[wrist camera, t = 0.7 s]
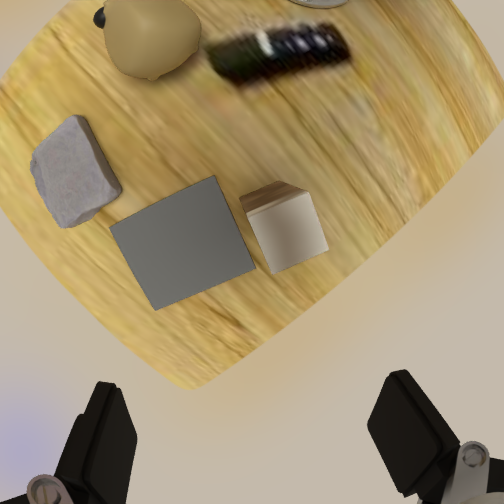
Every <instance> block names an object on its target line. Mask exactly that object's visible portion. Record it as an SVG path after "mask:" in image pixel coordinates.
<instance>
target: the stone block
mask: <svg viewBox="0 0 504 504" xmlns="http://www.w3.org/2000/svg"><path fill="white" fill-rule="evenodd" d="M30 171H31V174H32V175H33V176H34V179H35V184H36V187H37V190H38V192H39V194H40V196H41V197H42V199H43V200H44V203H45V206H46V207H47V209H48V210H49V212H50V213H52V217H53V218H54V220H55V221H56V223H57V224H58V225H59V227H60V228H72V227H75V226H77V225H79V224H81V223H83V222H85V221H88V220H90V219H92V217H93V216H94V215H95V214H96V213H97V212H99V210H100V208H101V207H103V206H105V205H106V204H108V203H110V202H111V201H113V200H114V199H116V198H117V197H118V196H119V194H120V193H121V186H120V184H119V182H118V180H117V179H116V177H115V175H114V173H113V171H112V170H111V168H110V166H109V164H108V162H107V160H106V158H105V156H104V155H103V153H102V151H101V149H100V147H99V145H98V143H97V141H96V140H95V138H94V136H93V133H92V131H91V129H90V127H89V125H88V123H87V121H86V120H85V119H84V118H83V117H82V116H79V115H72V116H70V117H69V118H67V119H66V120H65V121H64V122H63V123H62V124H61V125H59V127H58V128H57V129H56V130H55V131H54V132H52V133H51V134H50V135H49V136H48V137H47V138H46V139H44V140H43V141H42V142H41V143H40V144H39V146H38V147H37V148H36V149H35V150H34V152H33V154H32V160H31V162H30Z"/></svg>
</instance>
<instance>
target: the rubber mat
mask: <svg viewBox="0 0 504 504" xmlns="http://www.w3.org/2000/svg"><path fill="white" fill-rule="evenodd" d="M109 229H110V231H111V233H112V235H113V237H114V239H115V241H116V243H117V244H118V246H119V248H120V250H121V252H122V254H123V256H124V258H125V260H126V261H127V263H128V265H129V267H130V269H131V270H132V272H133V274H134V276H135V278H136V279H137V281H138V283H139V285H140V286H141V288H142V290H143V291H144V293H145V295H146V297H147V298H148V300H149V302H150V303H151V305H152V307H153V308H154V310H155V311H156V310H158V309H161V308H163V307H166V306H168V305H171V304H173V303H175V302H178V301H180V300H183V299H185V298H187V297H190V296H192V295H195V294H197V293H199V292H202V291H204V290H206V289H209V288H211V287H214V286H216V285H218V284H221V283H223V282H225V281H228V280H230V279H232V278H235V277H237V276H239V275H242V274H244V273H246V272H249V271H251V270H253V269H256V267H255V265H254V263H253V261H252V258H251V256H250V254H249V252H248V250H247V247H246V245H245V243H244V241H243V238H242V236H241V234H240V232H239V229H238V227H237V225H236V223H235V221H234V218H233V216H232V214H231V212H230V209H229V207H228V205H227V203H226V200H225V198H224V196H223V194H222V191H221V189H220V187H219V185H218V183H217V180H216V178H215V176H212V177H209V178H207V179H205V180H203V181H200V182H198V183H196V184H194V185H192V186H190V187H188V188H185V189H183V190H181V191H179V192H177V193H175V194H173V195H171V196H169V197H167V198H165V199H163V200H161V201H159V202H157V203H155V204H153V205H151V206H149V207H147V208H145V209H143V210H141V211H139V212H137V213H135V214H133V215H131V216H130V217H128V218H126V219H124V220H122V221H120V222H118V223H117V224H115V225H113V226H111V227H109Z"/></svg>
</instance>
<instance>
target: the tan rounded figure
mask: <svg viewBox="0 0 504 504" xmlns="http://www.w3.org/2000/svg"><path fill="white" fill-rule="evenodd" d="M103 4H104V7H102V8H100V9H99V10H98V11H97V12H96V13H95V15H94V19H93V21H94V23H95V25H96V26H97V27H99V28H101V29H103V31H104V36H105V44H106V48H107V51H108V54H109V56H110V58H111V60H112V62H113V63H114V65H115V66H116V67H117V69H118V70H119V71H121V72H122V73H124V74H126V75H128V76H132V77H137V78H147V79H148V80H149V81H154V80H156V79H158V78H159V76H160V75H163V74H165V73H168V72H170V71H172V70H174V69H175V68H177V67H178V66H180V65H181V64H182V63H183V62H184V61H185V60H187V58H188V57H189V56H190V55H191V54H193V53H195V52H197V50H198V48H199V46H198V42H199V39H200V34H201V23H200V20H199V18H198V16H197V15H196V13H195V12H194V11H193V10H192V9H191V8H190V7H189V6H188V5H186V4H185V3H184V2H182V1H181V0H107V1H105V2H104V3H103Z"/></svg>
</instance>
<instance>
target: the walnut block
mask: <svg viewBox="0 0 504 504" xmlns="http://www.w3.org/2000/svg"><path fill="white" fill-rule="evenodd" d="M239 199H240V202H241V204H242V206H243V208H244V211H245V213H246V215H247V218H248V220H249V222H250V225H251V227H252V229H253V231H254V234H255V236H256V238H257V241H258V243H259V245H260V248H261V250H262V252H263V254H264V257H265V259H266V261H267V264H268V266H269V268H270V270H271V273H272V275H273V274H275V273H278V272H280V271H282V270H285V269H287V268H289V267H292V266H294V265H296V264H298V263H301V262H303V261H305V260H307V259H310V258H312V257H314V256H316V255H319V254H321V253H323V252H325V251H328V250H329V248H328V245H327V242H326V239H325V236H324V233H323V230H322V227H321V225H320V222H319V219H318V216H317V213H316V211H315V208H314V205H313V202H312V200H311V197H310V194H309V192H307V191H305V190H302V189H299V188H297V187H294V186H292V185H289V184H286V183H284V182H281V181H278V182H275V183H273V184H270V185H268V186H266V187H263V188H261V189H258V190H256V191H254V192H251V193H249V194H247V195H244V196H242V197H240V198H239Z"/></svg>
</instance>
